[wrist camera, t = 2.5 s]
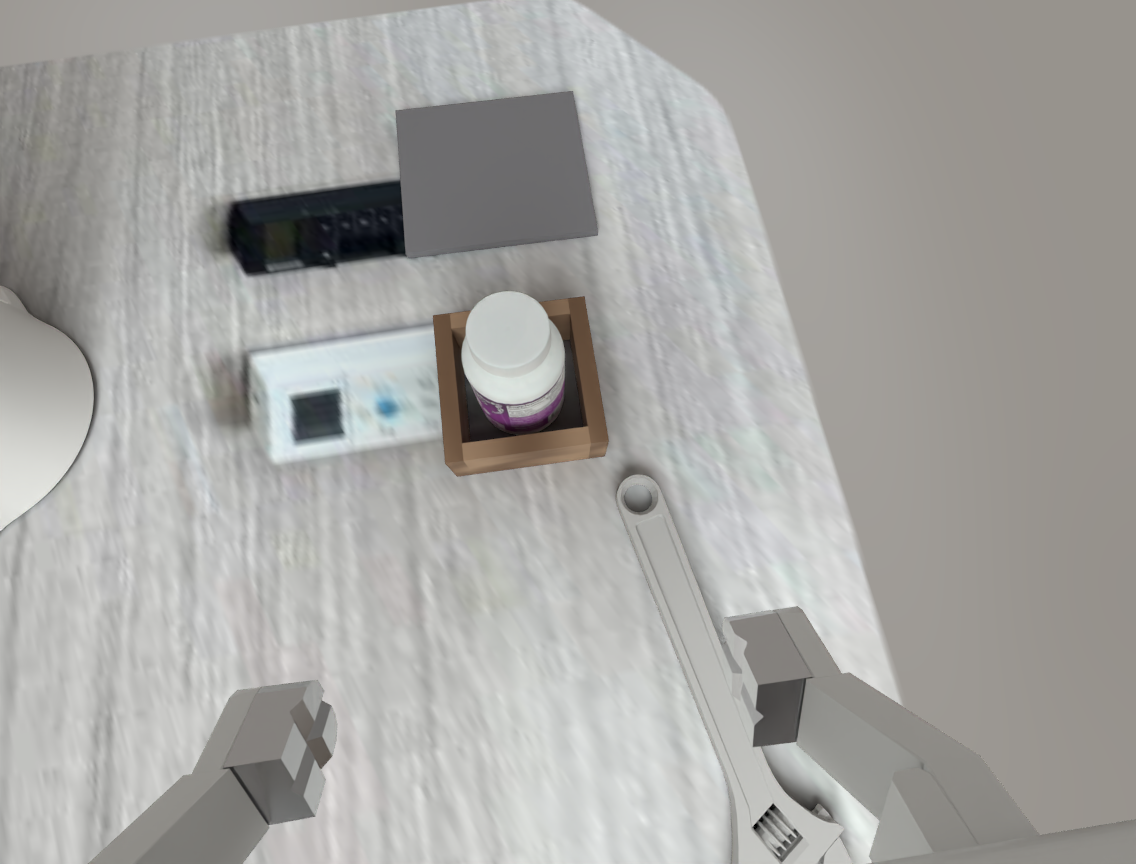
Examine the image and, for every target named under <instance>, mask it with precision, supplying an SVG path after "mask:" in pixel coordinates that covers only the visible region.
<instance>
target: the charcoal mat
mask: <svg viewBox="0 0 1136 864" xmlns="http://www.w3.org/2000/svg"><path fill="white" fill-rule="evenodd" d="M396 123H397V137H398V151H399V165H400V179H401V194H402V208H403V222H404V236H405V250H406V255H407V257H408V258H414V257H423V256H431V255H439V254H447V253H455V252H464V251H472V250H480V249H488V248H497V247H505V246H513V245H521V244H530V243H538V242H546V241H554V240H562V239H571V238H579V237H587V236H595V235H598V227H597V221H596V216H595V210H594V205H593V199H592V194H591V188H590V183H589V177H588V172H587V167H586V161H585V156H584V150H583V145H582V139H581V134H580V128H579V123H578V117H577V112H576V106H575V101H574V95H573V91H569V92H560V93H551V94H542V95H533V96H524V97H515V98H505V99H496V100H487V101H478V102H469V103H460V104H451V105H442V106H433V107H424V108H415V109H406V110H397V111H396Z"/></svg>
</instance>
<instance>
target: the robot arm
mask: <svg viewBox="0 0 1136 864" xmlns="http://www.w3.org/2000/svg"><path fill="white" fill-rule="evenodd" d="M93 402H94V390H93V382H92V377H91V373H90V369H89V367H88V364H87V362H86V360H85V358H84V356H83V354H82V353H81V351H80V350H79V348H78V347H77V346H76V344H75V343H74V342H73V341H72V340H71V339H70V338H69V337H67V336H66V335H65V334H64V333H62V332H61V331H60V330H58V329H56V328H54V327H53V326H51V325H48V324H46V323H44V322H42V321H40V320H38V319H36V318H35V317H33V316H32V315H30V314H29V313H28V311H27V310H26V308H25V307H24V305H23V304H22V302H21V301H20V299H19V298H18V297H17V296H16V294H15V293H14V292H12V291H11V290H10V289H8V288H6V287H3V286H1V285H0V531H1V530H2V529H3V528H4V527H6V526H7V525H8V524H9V523H11V522H12V521H13V520H15V519H16V518H18V517H19V516H20V515H22V514H23V513H24V512H26V511H27V510H29V509H30V508H31V507H33V506H34V505H35V504H36V503H38V502H39V501H40V500H41V499H42V498H43V497H44V496H45V495H46V494H47V493H48V492H49V491H50V490H51V489H52V488H53V487H54V486H55V485H56V484H57V483H58V482H59V481H60V479H61V478H62V477H63V476H64V474H65V473H66V472H67V470H68V469H69V467H70V466H71V464H72V463H73V461H74V460H75V458H76V456H77V455H78V453H79V451H80V449H81V447H82V445H83V442H84V440H85V437H86V435H87V432H88V429H89V425H90V422H91V417H92V412H93ZM722 632H723V634H724V637H725V639H726V642H725V643H724V644H723V645H722V664H723V670H724V674H725V678H726V681H727V684H728V687H729V689H730V692H731V695H733V696H734V697H735V698H737V699H738V700H739V701H740V718H741V720H742V722H743V725H744V727H745V730H746V732H747V735H748V737H749V740H750V742H751V745H752V747H760V746H768V745H776V744H784V743H791V742H797V745H798V746H799V747H800V748H801V749H802V750H803V751H804V752H805V753H806V754H808V755H809V756H810V757H811V758H812V759H813V760H814V761H815V762H816V763H817V764H818V765H820V766H821V767H822V768H823V769H824V770H825V771H826V772H827V773H828V774H829V775H830V776H832V777H833V778H834V779H835V780H836V781H837V782H838V783H839V784H840V785H841V786H842V787H844V788H845V789H846V790H847V791H848V792H849V793H850V794H851V795H852V796H853V797H854V798H856V799H857V800H858V801H859V802H860V803H861V804H862V805H863V806H864V807H865V808H866V809H868V810H869V811H870V812H871V813H872V814H873V815H874V816H875V817H876V818H877V819H878V820H880V821H879V825H878V828H877V831H876V835H875V838H874V841H873V845H872V848H871V851H870V855H869V857H870V859H871V861H872V863H868V864H1136V819H1135V820H1128V821H1122V822H1116V823H1110V824H1104V825H1098V826H1092V827H1086V828H1080V829H1074V830H1067V831H1061V832H1055V833H1049V834H1043V835H1039V833H1038V832H1037V831H1036V829H1035V828H1034V827H1033V825H1032V824H1031V823H1030V821H1029V820H1028V819H1027V817H1026V816H1025V815H1024V813H1023V812H1022V811H1021V809H1020V808H1019V807H1018V806H1017V804H1016V803H1015V801H1014V800H1013V799H1012V797H1011V796H1010V795H1009V793H1008V792H1007V791H1006V790H1005V788H1004V787H1003V786H1002V784H1001V783H1000V782H999V780H998V779H997V778H996V776H995V775H994V774H993V772H992V771H991V770H990V768H989V767H988V766H987V764H986V763H985V762H984V760H983V759H982V758H981V756H980V755H978V754H976V753H975V752H973V751H972V750H970V749H969V748H967V747H965V746H964V745H962V744H961V743H959V742H958V741H956V740H954V739H953V738H951V737H950V736H948V735H947V734H945V733H943V732H942V731H940V730H939V729H937V728H935V727H934V726H933V725H931V724H929V723H928V722H926V721H925V720H923V719H921V718H920V717H918V716H917V715H915V714H913V713H912V712H910V711H909V710H907V709H906V708H904V707H903V706H901V705H900V704H898V703H896V702H895V701H893V700H892V699H890V698H889V697H887V696H885V695H884V694H882V693H881V692H879V691H878V690H876V689H874V688H873V687H871V686H870V685H868V684H867V683H865V682H863V681H862V680H860V679H859V678H857V677H856V676H854V675H852V674H851V673H841V671H840V670H839V668H838V666H837V665H836V663H835V662H834V660H833V658H832V657H831V655H830V654H829V652H828V650H827V649H826V647H825V646H824V644H823V642H822V641H821V639H820V637H819V636H818V634H817V633H816V631H815V629H814V628H813V626H812V625H811V623H810V621H809V620H808V618H807V617H806V615H805V613H804V612H803V610H802V609H800V608H799V607H798V606H797V607H790V608H784V609H777V610H773V611H771V610H768V611H762V612H756V613H750V614H743V615H737V616H731V617H725V618H724V620H723V623H722ZM323 693H324V690H323V688H322V686H321V684H320V683H319V681H318V680H312V681H304V682H296V683H288V684H280V685H272V686H264V687H257V688H250V689H243V690H237V691H236V692H235V693H234V694H233V695H232V696H231V697H230V698H229V700H228V702H227V704H226V706H225V708H224V710H223V712H222V714H221V716H220V718H219V720H218V722H217V724H216V726H215V728H214V730H213V732H212V734H211V736H210V738H209V740H208V742H207V744H206V746H205V748H204V750H203V752H202V754H201V756H200V758H199V760H198V762H197V764H196V766H195V768H194V770H193V772H192V774H189V775H183V776H182V777H181V778H180V779H179V780H178V781H177V782H176V783H175V784H174V785H173V786H172V787H170V788H169V789H168V790H167V791H166V792H165V793H164V794H163V795H162V796H161V797H160V798H159V799H158V800H156V801H155V802H154V803H153V804H152V805H151V806H150V807H149V808H148V809H147V810H146V811H145V812H143V813H142V814H141V815H140V816H139V817H138V818H137V819H136V820H135V821H134V822H133V823H132V824H130V825H129V826H128V827H127V828H126V829H125V830H124V831H123V832H122V833H121V834H120V835H119V836H118V837H116V838H115V839H114V840H113V841H112V842H111V843H110V844H109V845H108V846H107V847H106V848H105V849H103V850H102V851H101V852H100V853H99V854H98V855H97V856H96V857H95V858H94V859H93V860H92V861H91V862H89V863H88V864H243V862H244V861H245V860H246V858H247V857H248V856H249V854H250V853H251V852H252V850H253V849H254V848H255V847H256V845H257V844H258V843H259V841H260V840H261V839H262V837H263V836H264V835H265V833H266V832H267V831H268V829H269V826H268V825H272V824H278V823H283V822H288V821H294V820H299V819H304V818H310V817H315V815H316V812H317V809H318V805H319V802H320V798H321V795H322V791H323V788H324V784H325V781H326V779H325V777H324V775H323V773H322V771H321V769H322V768H323V766H324V765H325V764H326V763H327V762H328V761H329V760H330V758H331V757H332V756H333V752H334V748H335V744H336V737H337V721H336V716H335V713H334V710H333V708H332V706H331V705H329V704H327V703H325V702H324V701H322V696H323Z"/></svg>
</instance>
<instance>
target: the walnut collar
mask: <svg viewBox="0 0 1136 864" xmlns="http://www.w3.org/2000/svg"><path fill="white" fill-rule="evenodd" d="M539 303H540V304H541V306H542V307H543V308H544V310H545V311H546V313H547V316H548V318H549V319H550V320H551V321H552V322H553V324H554V325H555V326H556V328H557V329H558V331H559V333H560V335H561V338H562V340H570V344H571V350H572V357H573V363H574V369H575V376H576V382H577V389H578V395H579V401H580V408H581V414H582V421H583V427H579V428H572V429H564V430H557V431H550V432H542V433H535V434H527V435H520V436H513V437H505V438H498V439H491V440H483V441H476V442H471V440H470V430H469V420H468V409H467V399H466V389H465V378H464V368H463V364H462V346H463V342H464V339H465V336H466V323H467V319H468V316H469V314H470V312H471V311H464V312H456V313H449V314H441V315H433V322H434V334H435V346H436V359H437V371H438V383H439V395H440V407H441V419H442V431H443V443H444V455H445V464H446V465H447V466H448V467H449V468H450V469H451V470H452V471H453V472H454V474H455V475H456V476H457V477H458V476H465V475H472V474H480V473H487V472H494V471H501V470H509V469H516V468H523V467H530V466H538V465H545V464H552V463H559V462H567V461H574V460H581V459H588V458H596V457H603V456H605V453H606V449H607V446H608V442H609V439H608V434H607V428H606V422H605V416H604V410H603V404H602V398H601V392H600V386H599V380H598V374H597V368H596V362H595V356H594V350H593V344H592V338H591V333H590V327H589V321H588V315H587V309H586V303H585V297H576V298H568V299H560V300H552V301H544V302H539Z"/></svg>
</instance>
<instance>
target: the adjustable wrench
mask: <svg viewBox="0 0 1136 864" xmlns="http://www.w3.org/2000/svg"><path fill="white" fill-rule="evenodd" d="M633 485H642V486H645V487H646V488H647V489H648V490H649V491H650V493H651V495H652V503H651V505H650V507H649V508H648V509H647V510H645V511H643V512H634V511H632V510H630V509H629V508H628V507H627V505H626V504H625V500H624V495H625V492H626V490H627V489H628V488H629V487H631V486H633ZM616 503H617V507H618V510H619V512H620V515H621V517H622V520H623V522H624V525H625V527H626V530H627V532H628V535H629V537H630V540H631V542H632V545H633V547H634V550H635V552H636V555H637V557H638V560H639V562H640V565H641V568H642V570H643V573H644V575H645V578H646V580H647V583H648V585H649V588H650V590H651V593H652V595H653V598H654V600H655V603H656V605H657V608H658V610H659V613H660V615H661V618H662V620H663V623H664V625H665V628H666V630H667V633H668V635H669V638H670V640H671V643H672V645H673V648H674V650H675V653H676V655H677V658H678V660H679V663H680V665H681V668H682V670H683V673H684V675H685V678H686V680H687V683H688V685H689V688H690V690H691V693H692V695H693V698H694V700H695V703H696V705H697V708H698V710H699V713H700V715H701V718H702V720H703V723H704V725H705V728H706V730H707V733H708V735H709V738H710V740H711V743H712V745H713V748H714V750H715V753H716V755H717V758H718V760H719V763H720V765H721V768H722V771H723V773H724V777H725V780H726V783H727V787H728V792H729V799H730V806H731V827H732V857H731V864H852V861H851V859H850V857H849V854H848V852H847V850H846V848H845V846H844V844H843V842H842V840H841V839H840V837H839V835H840V834H841V833H842V832H843V830H844V828H843V827H842V826H841V825H840V824H838V823H837V822H836V821H835V820H833V819H832V817H831V816H830V815H829V813H828V812H827V811H826V810H825V809H824V808H823V807H822V806H821V805H820V804H817V806H816V807H815V808H814V809H813V810H812V811H810V810H808V809H806V808H804V807H803V806H802V805H800V804H799V803H798V802H796V801H795V800H794V799H792V798H791V797H790V796H788V795H787V794H786V793H785V792H784V790H783V789H782V788H781V786H780V785H779V783H778V782H777V780H776V779H775V777H774V776H773V774H772V772H771V770H770V768H769V766H768V764H767V761H766V759H765V756H764V754H763V751H762V749H761V746H760V747H752V745H751V742H750V740H749V737H748V735H747V732H746V730H745V727H744V725H743V722H742V720H741V718H740V701H739V700H738V699H737V698H735V697H734V696H733V695H731V692H730V689H729V687H728V684H727V681H726V678H725V674H724V670H723V664H722V646H721V643H720V641H719V638H718V636H717V633H716V631H715V628H714V625H713V623H712V620H711V618H710V615H709V613H708V610H707V607H706V605H705V602H704V600H703V597H702V595H701V592H700V589H699V587H698V584H697V582H696V579H695V577H694V574H693V571H692V569H691V566H690V564H689V561H688V559H687V556H686V554H685V551H684V548H683V546H682V543H681V541H680V538H679V536H678V533H677V530H676V528H675V525H674V523H673V520H672V518H671V515H670V512H669V510H668V507H667V505H666V502H665V500H664V497H663V495H662V492H661V489H660V487H659V486H658V484H657V483H656V482H655V481H654V480H653V479H652V478H650V477H648V476H646V475H640V474H637V475H632V476H630V477H628V478H626V479H625V480H624V481H623V482H622V483H621V484H620V486H619V489H618V491H617V493H616ZM772 804H774V805H775V808H774V809H773V810H772V811H771V810H770V809H769V807H770V806H771V805H772ZM766 811H767V813H768V814H769V815H768V816H767V817H766V816H765V815H764V813H765V812H766ZM761 817H762V819H763V821H762V823H761V822H760V821H758V820H759V819H760V818H761ZM755 823H757V825H758V827H757V828H756V829H755V830H754V829H753V826H754V825H755ZM794 829H795V830H794ZM793 830H794V831H793ZM789 835H790V836H789ZM788 836H789V837H788ZM784 840H785V841H784ZM779 846H780V847H779ZM778 847H779V848H778ZM777 848H778V849H777ZM774 852H775V853H774Z"/></svg>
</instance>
